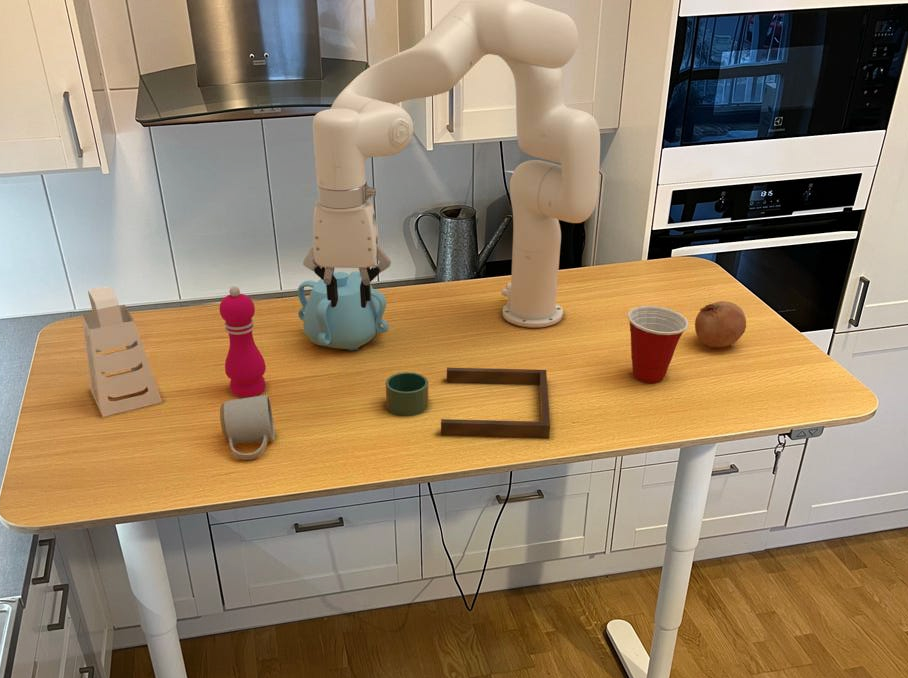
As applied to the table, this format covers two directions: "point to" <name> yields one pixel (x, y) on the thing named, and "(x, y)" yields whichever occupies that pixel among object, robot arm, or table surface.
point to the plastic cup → (654, 340)
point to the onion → (720, 324)
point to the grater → (116, 355)
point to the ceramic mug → (247, 423)
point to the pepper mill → (242, 346)
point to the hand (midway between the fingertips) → (349, 303)
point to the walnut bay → (493, 426)
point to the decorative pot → (341, 313)
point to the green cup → (407, 393)
